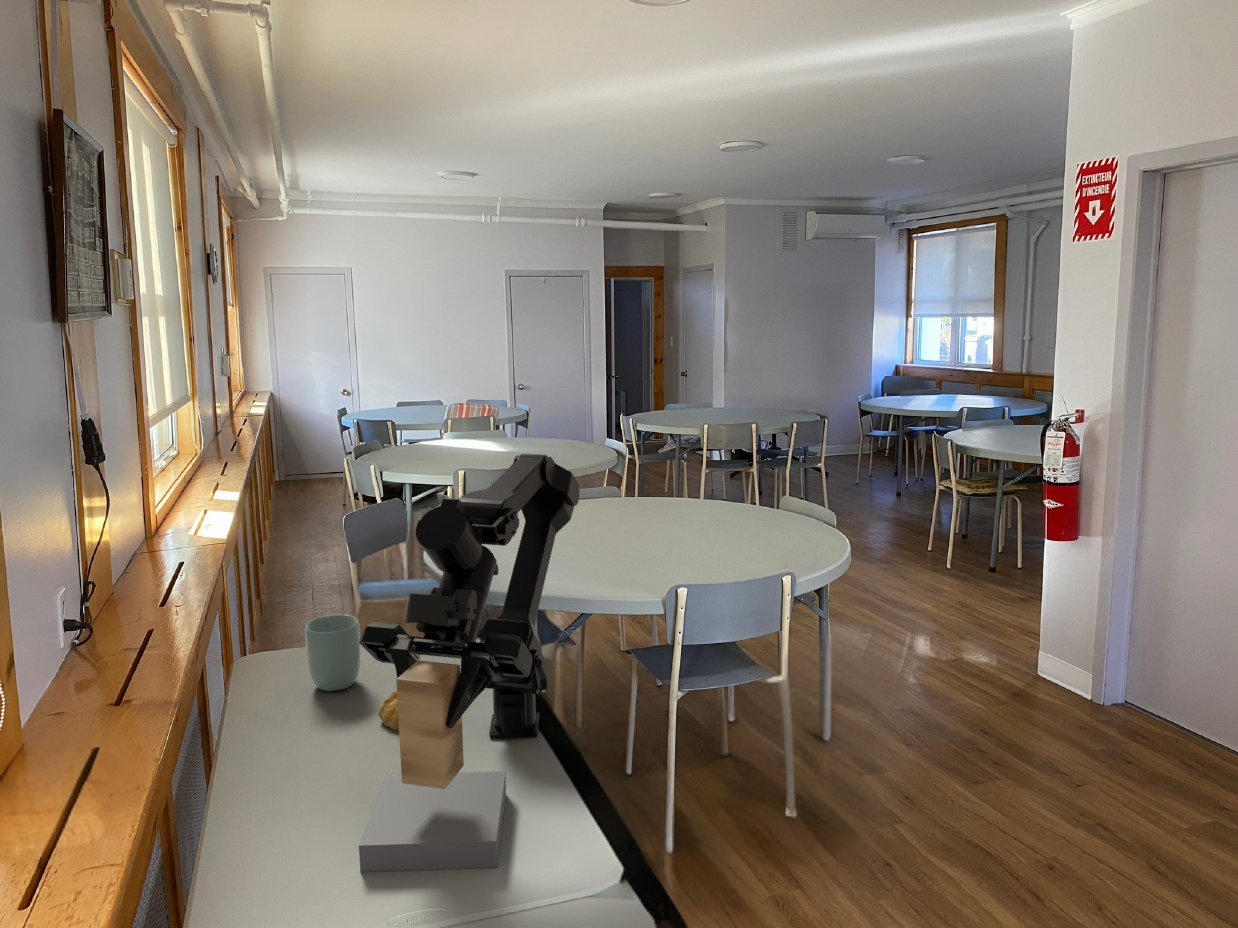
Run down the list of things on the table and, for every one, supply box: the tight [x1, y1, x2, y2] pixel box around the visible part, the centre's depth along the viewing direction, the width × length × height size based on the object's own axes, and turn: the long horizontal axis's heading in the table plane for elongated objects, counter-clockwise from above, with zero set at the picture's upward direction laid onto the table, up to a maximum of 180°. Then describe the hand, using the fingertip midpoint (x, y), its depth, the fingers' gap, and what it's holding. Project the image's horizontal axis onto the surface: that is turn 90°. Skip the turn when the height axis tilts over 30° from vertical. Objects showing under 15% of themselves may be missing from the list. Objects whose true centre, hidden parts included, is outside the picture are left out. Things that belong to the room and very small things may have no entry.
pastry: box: [378, 690, 399, 732], centre depth 126 cm, size 9×7×4 cm
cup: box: [304, 613, 361, 692], centre depth 137 cm, size 8×8×10 cm
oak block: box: [396, 659, 465, 789], centre depth 98 cm, size 5×5×12 cm
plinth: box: [358, 770, 507, 873], centre depth 101 cm, size 14×14×3 cm
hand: (425, 724), depth 97 cm, fingers closed on oak block, 5 cm apart
